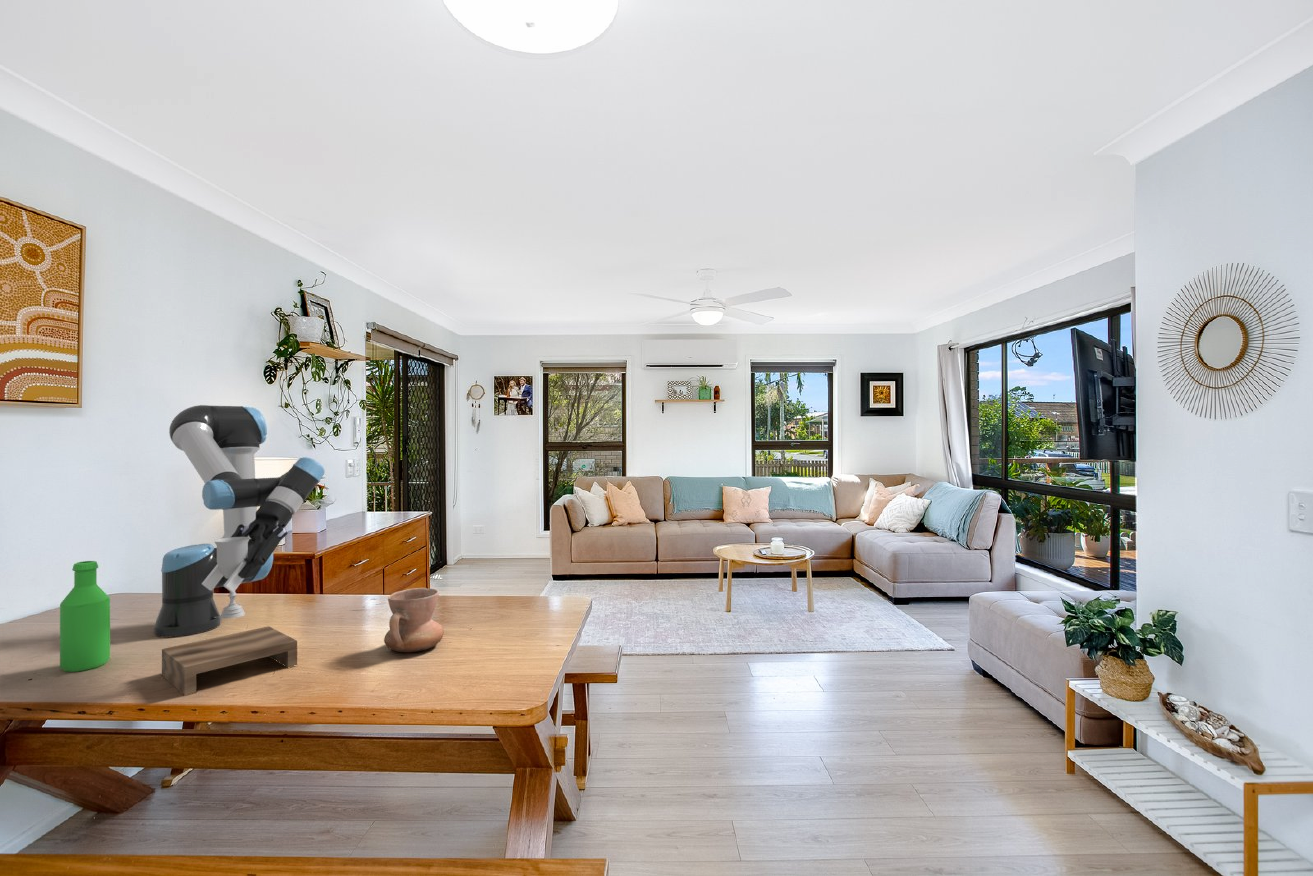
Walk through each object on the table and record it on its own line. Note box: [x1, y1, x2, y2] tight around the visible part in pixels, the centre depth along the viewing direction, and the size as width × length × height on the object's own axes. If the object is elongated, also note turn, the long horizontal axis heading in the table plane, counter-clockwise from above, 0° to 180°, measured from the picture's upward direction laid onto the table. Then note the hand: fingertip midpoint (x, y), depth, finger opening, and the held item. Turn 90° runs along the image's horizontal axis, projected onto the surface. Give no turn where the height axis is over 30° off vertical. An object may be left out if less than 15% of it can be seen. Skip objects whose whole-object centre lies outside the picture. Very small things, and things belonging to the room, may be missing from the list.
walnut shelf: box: [161, 625, 298, 696], centre depth 144 cm, size 18×22×6 cm
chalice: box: [213, 537, 250, 620], centre depth 144 cm, size 7×7×18 cm
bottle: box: [59, 560, 111, 673], centre depth 147 cm, size 9×9×25 cm
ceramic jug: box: [383, 587, 445, 653], centre depth 160 cm, size 18×14×14 cm
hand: (217, 588), depth 141 cm, fingers closed on chalice, 6 cm apart
